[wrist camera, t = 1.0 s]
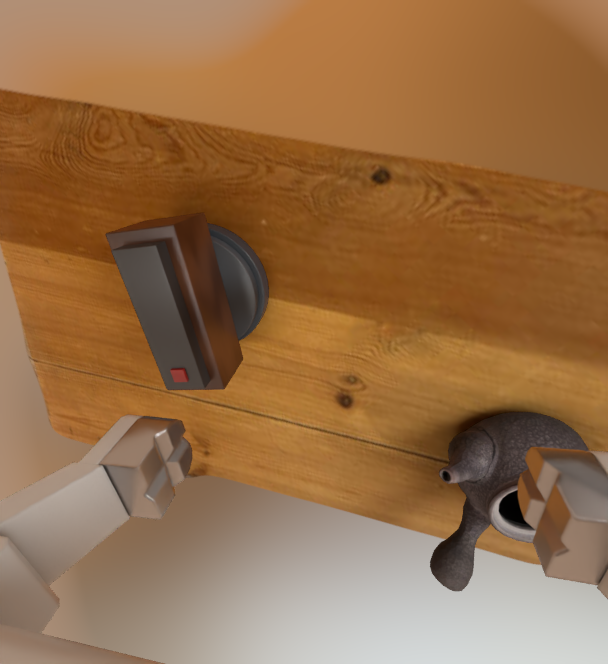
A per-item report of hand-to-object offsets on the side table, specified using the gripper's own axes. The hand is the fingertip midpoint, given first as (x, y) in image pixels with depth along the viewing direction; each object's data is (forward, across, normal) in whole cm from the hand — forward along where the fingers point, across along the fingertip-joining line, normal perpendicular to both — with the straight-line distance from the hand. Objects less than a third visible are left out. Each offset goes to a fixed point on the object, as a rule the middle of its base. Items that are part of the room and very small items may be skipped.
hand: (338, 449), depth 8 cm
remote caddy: (+22, +15, +5) cm, 27 cm away
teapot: (+24, -12, +26) cm, 37 cm away
